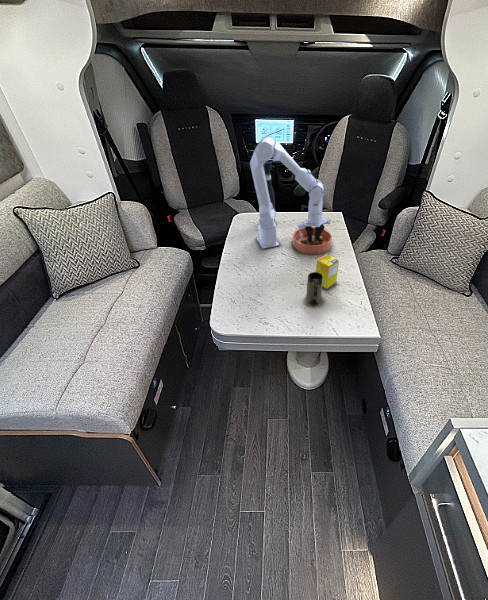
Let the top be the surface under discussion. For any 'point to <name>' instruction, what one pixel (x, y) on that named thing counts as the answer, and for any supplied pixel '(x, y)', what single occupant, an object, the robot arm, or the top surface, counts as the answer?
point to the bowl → (307, 247)
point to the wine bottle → (269, 182)
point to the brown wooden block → (313, 241)
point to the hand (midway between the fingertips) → (313, 240)
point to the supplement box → (327, 270)
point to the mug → (314, 289)
